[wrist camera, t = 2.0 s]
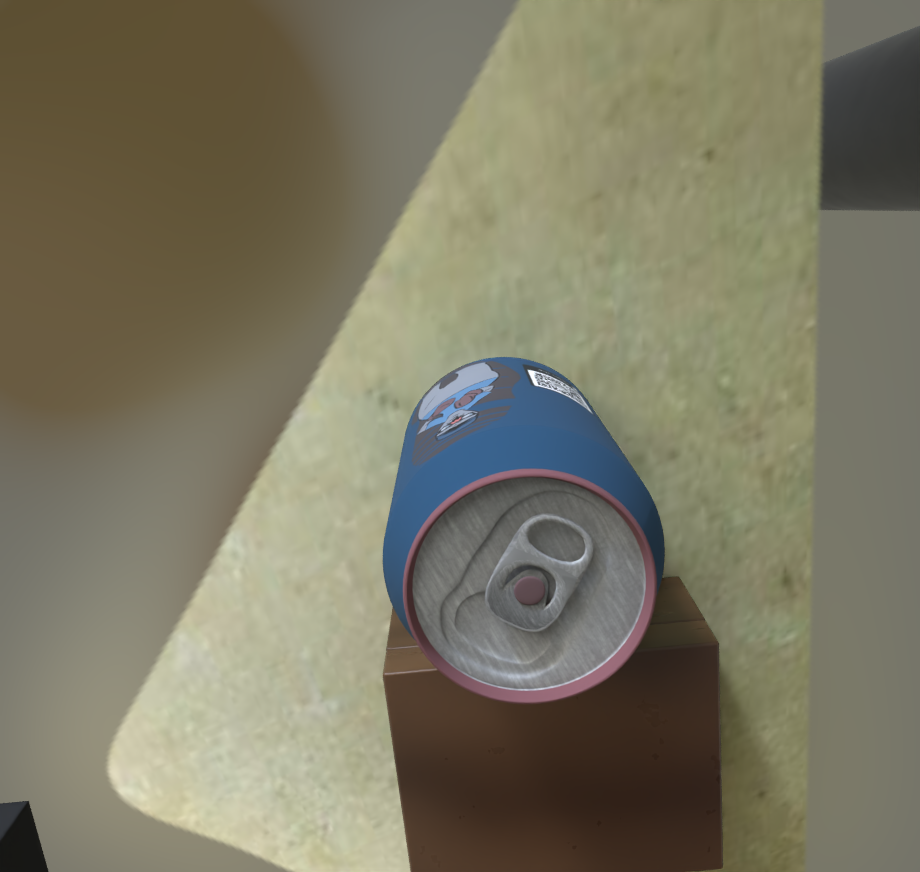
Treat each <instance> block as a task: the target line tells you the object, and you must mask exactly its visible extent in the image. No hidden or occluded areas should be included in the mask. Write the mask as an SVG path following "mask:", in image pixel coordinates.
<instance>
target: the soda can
mask: <svg viewBox="0 0 920 872" xmlns="http://www.w3.org/2000/svg"><path fill="white" fill-rule="evenodd" d="M664 557H665V547H664V536H663V529H662V525H661V521H660V517H659V514H658V511H657V508H656V506H655V504H654V501H653V499H652V497H651V495H650V494H649V492H648V490H647V488H646V487H645V485H644V484H643V482H642V481H641V479H640V478H639V476H638V475H637V473H636V472H635V470H634V469H633V467H632V466H631V465H630V463H629V462H628V460H627V459H626V457H625V456H624V454H623V453H622V451H621V450H620V448H619V447H618V445H617V444H616V442H615V441H614V439H613V438H612V436H611V435H610V433H609V432H608V431H607V429H606V428H605V426H604V425H603V423H602V422H601V420H600V419H599V417H598V416H597V414H596V413H595V411H594V410H593V408H592V407H591V405H590V404H589V402H588V401H587V400H586V398H585V397H584V395H583V394H582V393H581V392H580V391H579V389H578V388H577V387H576V386H575V385H574V384H573V383H572V382H570V381H569V380H568V379H567V378H565V377H564V376H563V375H561V374H560V373H558V372H557V371H555V370H553V369H551V368H549V367H547V366H545V365H542V364H540V363H537V362H534V361H530V360H526V359H521V358H513V357H496V358H488V359H483V360H478V361H475V362H471V363H469V364H466V365H464V366H461V367H459V368H457V369H455V370H453V371H452V372H450V373H448V374H447V375H445V376H444V377H443V378H441V379H440V380H439V381H438V382H436V383H435V384H434V385H433V386H432V387H431V388H430V389H429V390H428V391H427V392H426V394H425V395H424V396H423V397H422V399H421V400H420V402H419V403H418V405H417V406H416V408H415V410H414V412H413V414H412V416H411V418H410V421H409V423H408V426H407V430H406V433H405V438H404V443H403V448H402V453H401V458H400V463H399V468H398V473H397V478H396V483H395V488H394V493H393V498H392V503H391V508H390V513H389V518H388V523H387V528H386V533H385V538H384V546H383V572H384V578H385V583H386V588H387V592H388V595H389V598H390V601H391V603H392V605H393V608H394V610H395V612H396V614H397V616H398V618H399V620H400V621H401V623H402V624H403V626H404V627H405V629H406V630H407V631H408V633H409V634H410V635H411V637H412V638H413V639H414V640H415V641H416V643H417V644H418V646H419V648H420V649H421V651H422V652H423V654H424V655H425V656H426V658H427V659H428V660H429V661H430V662H431V663H432V665H433V666H434V667H435V668H436V669H437V670H438V671H440V672H441V673H442V674H443V675H444V676H445V677H447V678H448V679H449V680H451V681H452V682H454V683H455V684H457V685H458V686H460V687H462V688H464V689H465V690H468V691H470V692H472V693H474V694H476V695H479V696H482V697H485V698H488V699H491V700H495V701H499V702H505V703H513V704H541V703H548V702H554V701H559V700H563V699H566V698H570V697H573V696H576V695H578V694H581V693H583V692H585V691H588V690H590V689H592V688H594V687H595V686H597V685H599V684H601V683H602V682H604V681H605V680H607V679H608V678H610V677H611V676H612V675H613V674H615V673H616V672H617V671H618V670H619V669H620V668H621V667H622V666H623V665H624V664H625V663H626V662H627V661H628V660H629V659H630V657H631V656H632V655H633V653H634V652H635V651H636V649H637V648H638V646H639V645H640V643H641V641H642V639H643V638H644V636H645V634H646V631H647V629H648V627H649V624H650V622H651V619H652V616H653V612H654V608H655V603H656V596H657V594H658V591H659V587H660V584H661V580H662V575H663V569H664Z"/></svg>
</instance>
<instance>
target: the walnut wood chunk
mask: <svg viewBox="0 0 920 872" xmlns="http://www.w3.org/2000/svg"><path fill="white" fill-rule="evenodd" d="M386 651H387V652H386V657H385V663H384V670H383V681H384V688H385V695H386V702H387V709H388V716H389V723H390V730H391V737H392V744H393V751H394V758H395V765H396V772H397V779H398V786H399V793H400V800H401V807H402V814H403V821H404V828H405V835H406V842H407V849H408V856H409V863H410V870H411V872H692V871H704V870H715V869H722V868H723V830H722V777H721V725H720V672H719V643H718V641H717V639H716V638H715V636H714V634H713V633H712V631H711V629H710V628H709V626H708V624H707V623H706V621H705V619H704V617H703V615H702V614H701V612H700V611H699V609H698V607H697V606H696V604H695V602H694V601H693V599H692V597H691V596H690V594H689V593H688V591H687V589H686V588H685V586H684V584H683V583H682V581H681V579H680V578H679V577H668V578H662V580H661V584H660V587H659V591H658V594H657V596H656V603H655V608H654V612H653V616H652V619H651V622H650V624H649V627H648V629H647V631H646V634H645V636H644V638H643V639H642V641H641V643H640V645H639V646H638V648H637V649H636V651H635V652H634V653H633V655H632V656H631V657H630V659H629V660H628V661H627V662H626V663H625V664H624V665H623V666H622V667H621V668H620V669H619V670H618V671H617V672H616V673H615V674H613V675H612V676H611V677H610V678H608V679H607V680H605V681H604V682H602V683H601V684H599V685H597V686H595V687H594V688H592V689H590V690H588V691H585V692H583V693H581V694H578V695H576V696H573V697H570V698H566V699H563V700H559V701H554V702H548V703H541V704H513V703H505V702H499V701H495V700H491V699H488V698H485V697H482V696H479V695H476V694H474V693H472V692H470V691H468V690H465V689H464V688H462V687H460V686H458V685H457V684H455V683H454V682H452V681H451V680H449V679H448V678H447V677H445V676H444V675H443V674H442V673H441V672H440V671H438V670H437V669H436V668H435V667H434V666H433V665H432V663H431V662H430V661H429V660H428V659H427V658H426V656H425V655H424V654H423V652H422V651H421V649H420V648H419V646H418V644H417V643H416V641H415V640H414V639H413V638H412V637H411V635H410V634H409V633H408V631H407V630H406V629H405V627H404V626H403V624H402V623H401V621H400V620H399V618H398V616H397V614H396V612H395V610H394V608H393V609H392V615H391V622H390V629H389V635H388V642H387V648H386Z"/></svg>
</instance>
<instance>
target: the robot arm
mask: <svg viewBox="0 0 920 872" xmlns="http://www.w3.org/2000/svg"><path fill="white" fill-rule="evenodd" d="M0 872H48V868H47V865H46V861H45V858H44V854H43V851H42V847H41V843H40V840H39V836H38V833H37V829H36V826H35V822H34V819H33V815H32V812H31V808H30V805H29V801H23V802H12V803H3V804H0Z"/></svg>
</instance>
